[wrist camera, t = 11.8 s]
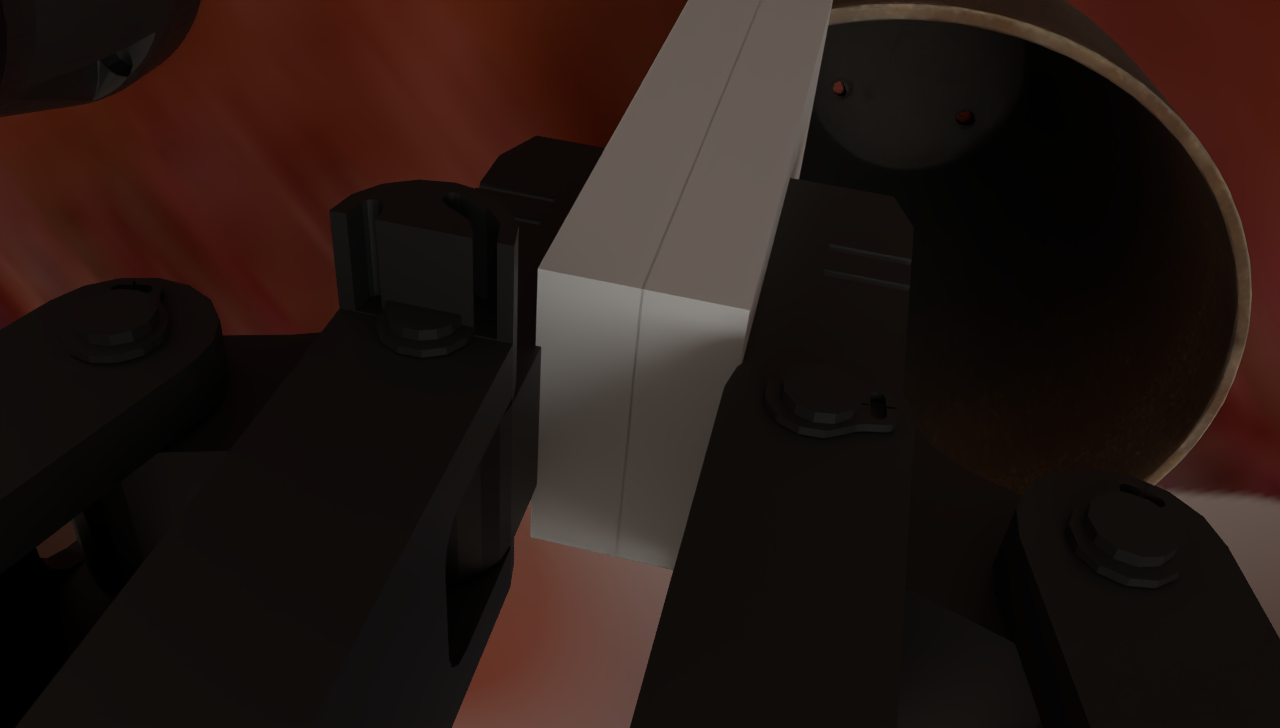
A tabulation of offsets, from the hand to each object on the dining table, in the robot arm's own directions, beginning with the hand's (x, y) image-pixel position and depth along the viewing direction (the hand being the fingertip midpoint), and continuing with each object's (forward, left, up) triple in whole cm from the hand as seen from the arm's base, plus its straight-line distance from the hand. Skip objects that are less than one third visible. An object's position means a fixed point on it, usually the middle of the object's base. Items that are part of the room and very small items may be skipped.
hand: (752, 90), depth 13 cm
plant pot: (+3, -9, -25) cm, 26 cm away
